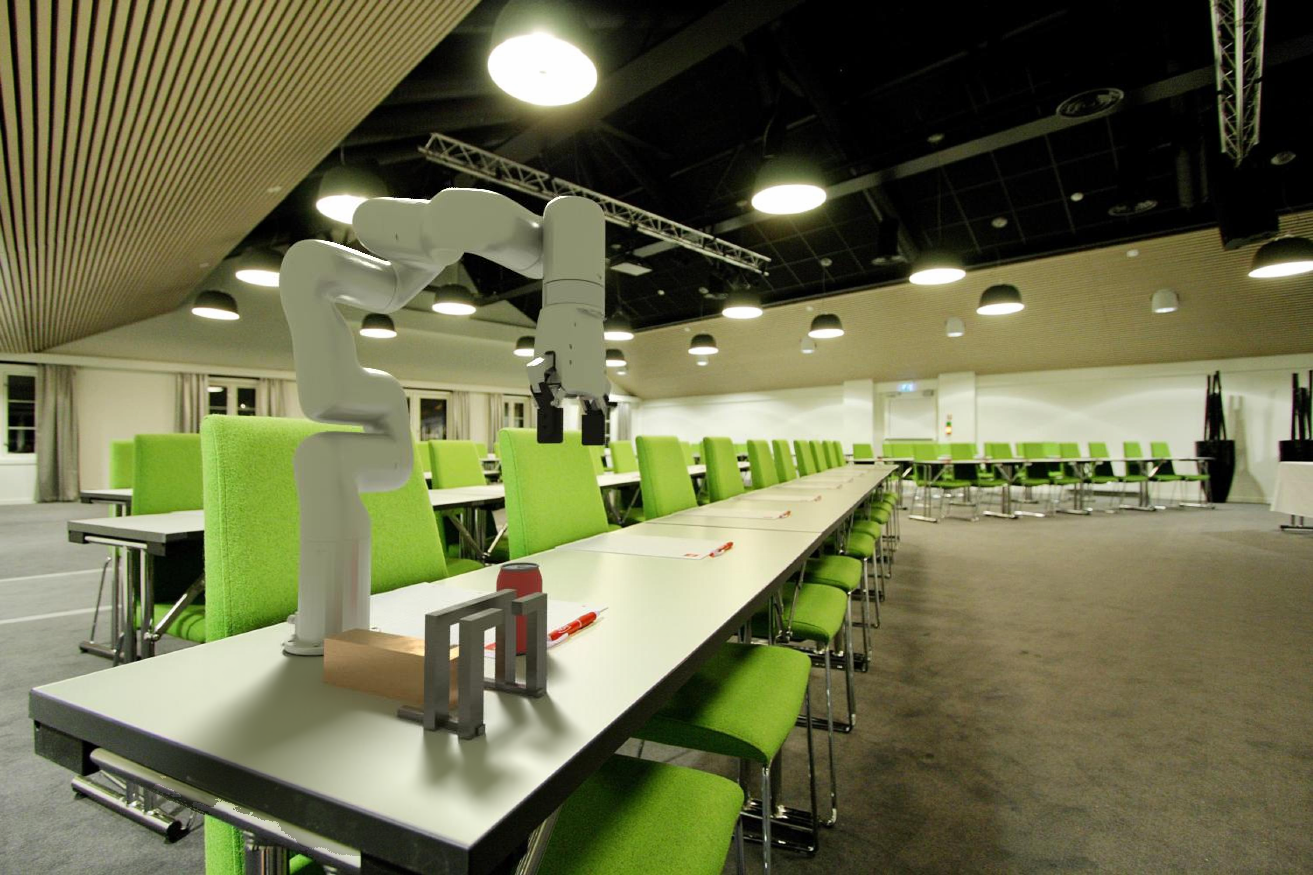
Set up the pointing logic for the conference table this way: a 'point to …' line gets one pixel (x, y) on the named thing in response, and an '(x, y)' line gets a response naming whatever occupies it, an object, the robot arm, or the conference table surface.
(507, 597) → the gray arch posts
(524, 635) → the beer can
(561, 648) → the conference table surface
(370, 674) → the long brass-colored rectangular prism
